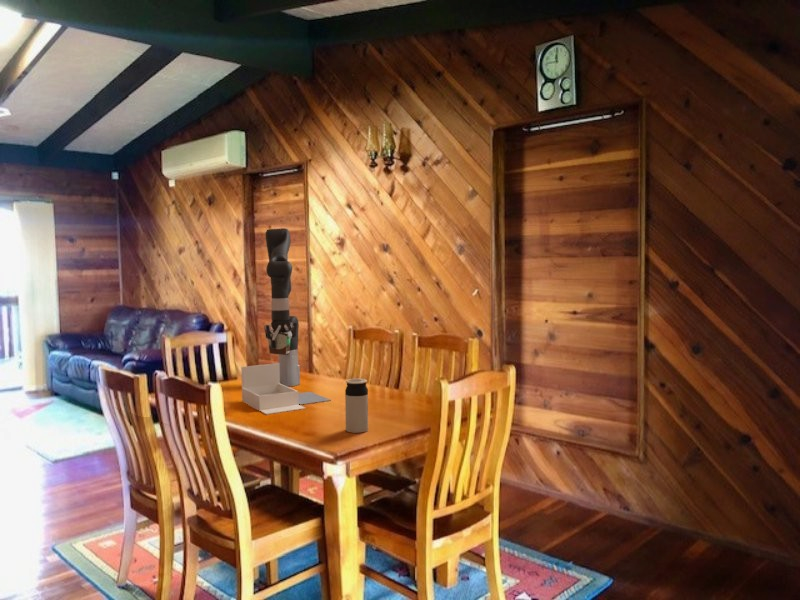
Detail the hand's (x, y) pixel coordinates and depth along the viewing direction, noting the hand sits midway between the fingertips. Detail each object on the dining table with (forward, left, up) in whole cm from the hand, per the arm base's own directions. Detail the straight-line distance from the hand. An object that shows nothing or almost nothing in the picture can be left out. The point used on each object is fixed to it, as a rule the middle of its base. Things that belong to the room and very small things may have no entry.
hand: (281, 348), depth 273 cm
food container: (-1, 0, -3) cm, 3 cm away
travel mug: (-4, +57, -23) cm, 62 cm away
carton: (+6, +4, -23) cm, 24 cm away
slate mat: (-11, 0, -23) cm, 26 cm away
